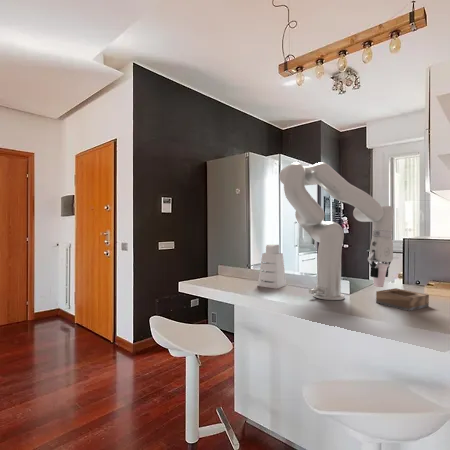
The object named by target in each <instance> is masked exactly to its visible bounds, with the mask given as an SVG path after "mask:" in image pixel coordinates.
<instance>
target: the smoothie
mask: <svg viewBox="0 0 450 450" xmlns="http://www.w3.org/2000/svg"><path fill="white" fill-rule="evenodd" d="M384 263H385V262H384ZM384 263H381V262H379V264H378V267H377V268H379V269H378V278H375V277H372V280H373V287H376V288H384V285H385V281H386V277H385V276H386V271H387V267H388V264H384ZM375 264H376V262H375Z"/></svg>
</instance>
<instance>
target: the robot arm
mask: <svg viewBox="0 0 450 450" xmlns="http://www.w3.org/2000/svg"><path fill="white" fill-rule="evenodd" d="M279 180H280V182H281V184H282V185H283V191H284V196H285V198H286V199H287V201H288V203H289V204H290V205H291V206H292V208H293V209H294V210H295V214H294V215H295V219H296V221H297V222H298V224H299V226H301V227H302V229H303V230H304V231H305V232H306V234H308V236H310V237H311V239H313V240H314V241H315V242H316V243H318V248H317V258H316V259H317V262H316V263H317V264H316V265H317V267H316V269H317V270H316V272H317V273H316V274H317V275H316V285H315V288H310V289H309V290H308V293H309V294H310V295H312V296H313V297H314V298H317V299H319V300H326V301H342V300H344V299H345V294H344V293H341V292H342V291H341V289H342V286H341V285H342V283H341V282H342V252H343V251H342V250H343V248H342V247H343V244H344V239H345V233H344V229H343V227H342V226H341V225H340V224H339V223H338V222H335V221H325V218H326V216H325V211H324V209H323V207H321V205H320V204H319V203H318V202H317V201H316V199H314V197H312V195H311V194H310V193H309V191H308V190H307V188H306V186H315V185H318V186H319V187H321V188H322V190H324V191H325V192H326V193H327V194H328V195H330V196H331V197H332V198H333V199H334V200H336V201H338V202H342V203H345V204H347V205H351V206H352V207H354V209H353V212H352V215H353V218H354V219H355V220H356V221H358V222H362V223H367V222H368V223H369V222H371V223H372V233H371V241H370V247H369V254H368V255H369V256H368V257H367V261H368V264H369V266H370V275H369V276H370V277H371V278H373V277H375V278H378V269H379V268H377V267H378V264H379V262H380V263H384V264H388V267H387V271H386V276H385V278H389V268H390V264H391V262H392V261H393V259H394V244H393V224H394V208H393V206H391V205H381V204H380V203H379V202H378V201H377V200H376V199H375V198H374V197H373V196H372V195H370V194H369V193H367V192H366V191H364V190H363V189H360V188H358V187H356V186H355V185H353V184H351V183H350V182H348V181H347V180H346V179H345V178H344V177H343V176H342V175H340V173H338V172H337V171H336V170H334V168H333V167H332V166H331V165H329V164H328V163H326V162H318V163H317V162H316V163H314V164H313V165H309V166H306V165H305V166H304V165H303V164H301V163H299V162H293V163H290V164H289V165H287V166H285V167H283V168H282V169H281V170H280V172H279ZM375 263H376V264H375Z"/></svg>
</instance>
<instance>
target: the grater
mask: <svg viewBox="0 0 450 450" xmlns="http://www.w3.org/2000/svg"><path fill="white" fill-rule="evenodd" d="M284 262H285V261H284V255H283V253H281V252H280V245H279V244H266V245H265V252H264V253H262V254H261V259H260V266H259V272H258V273H259V275H258V280H257V286H258V287H263V288H270V289H280V288H283V287H286V286H287V281H286V272H285V263H284Z"/></svg>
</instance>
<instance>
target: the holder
mask: <svg viewBox="0 0 450 450" xmlns="http://www.w3.org/2000/svg"><path fill="white" fill-rule="evenodd" d="M375 296H376V297H375V298H376V299H375V303H376V304H379V303H380V305H383V304H384V306H387V305H388V306H387V307H391V306H392V308H395V307H396V308H395V309H399V308H400V310H403V309H404V311H407V310H408V311H407V312H410V310H411V311H414V310H415V309H416V310H419V309H425V308H428V307H430V306H429V305H430V303H429V302H430V295H429V294H427V293H422V292H417V291H411V290H406V289H400V288H390V289H382V290H376V293H375ZM416 310H415V311H416Z"/></svg>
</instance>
